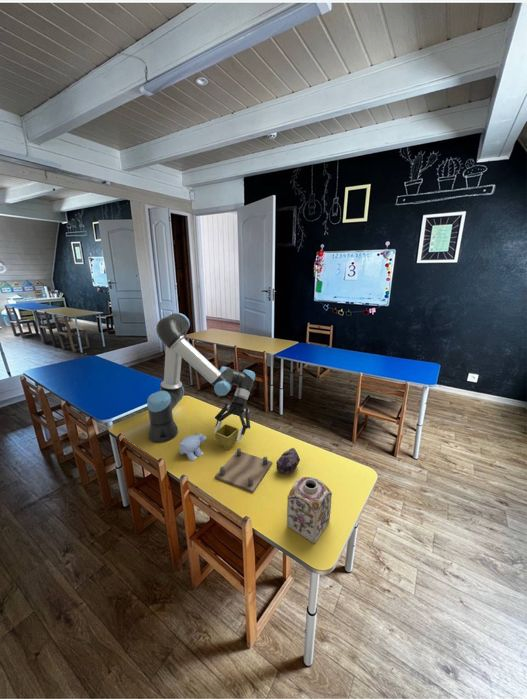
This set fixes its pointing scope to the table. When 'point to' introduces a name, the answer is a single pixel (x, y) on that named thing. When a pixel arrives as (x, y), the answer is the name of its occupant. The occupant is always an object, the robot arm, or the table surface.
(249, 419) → the robot arm
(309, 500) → the decorative jar
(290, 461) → the rock
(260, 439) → the table surface
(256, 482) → the standoff plate
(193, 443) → the hippopotamus toy
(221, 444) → the flower pot
